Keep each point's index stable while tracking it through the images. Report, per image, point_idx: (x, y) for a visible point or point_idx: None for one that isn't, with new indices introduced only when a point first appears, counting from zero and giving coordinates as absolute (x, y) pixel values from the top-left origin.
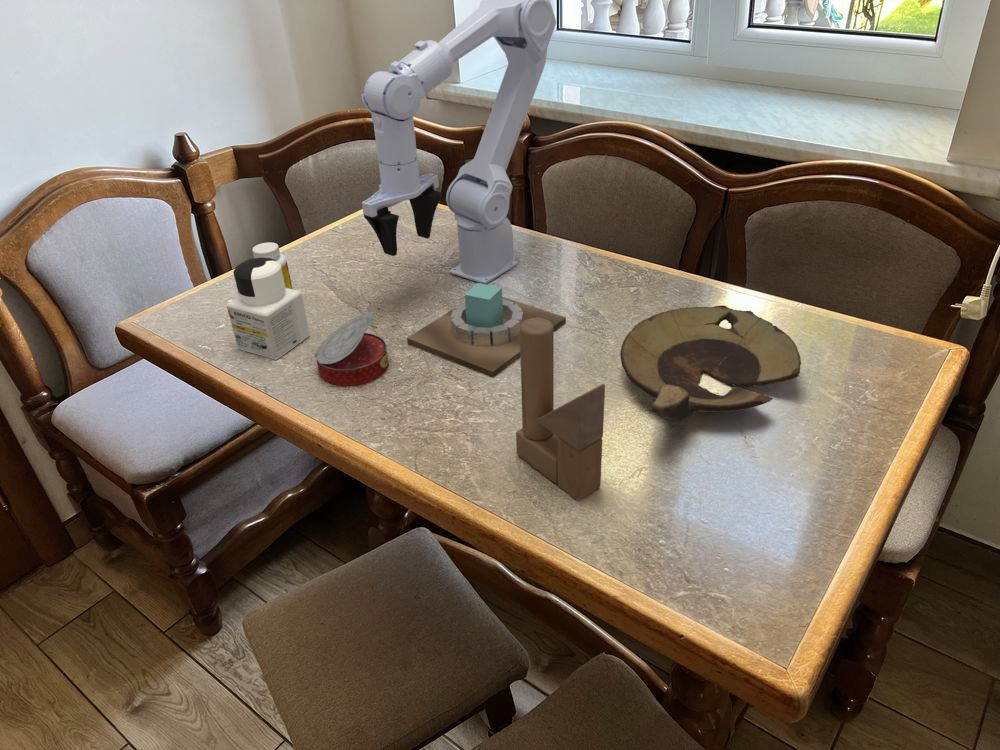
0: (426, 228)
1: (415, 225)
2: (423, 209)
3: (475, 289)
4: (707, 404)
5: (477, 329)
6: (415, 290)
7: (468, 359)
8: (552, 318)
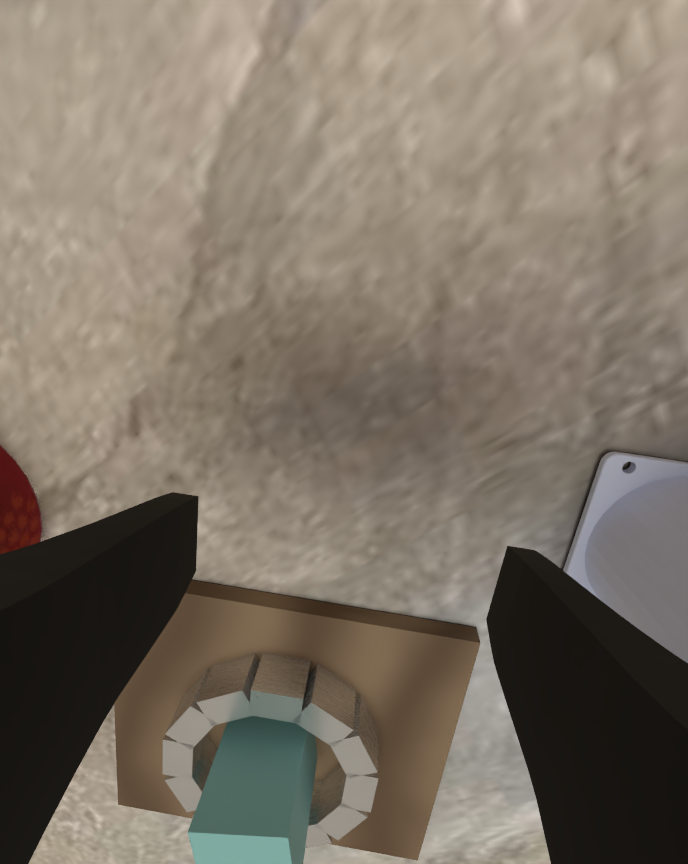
0: (510, 678)
1: (541, 579)
2: (593, 851)
3: (239, 847)
4: None
5: (182, 784)
6: (422, 403)
7: (125, 749)
8: (397, 839)
